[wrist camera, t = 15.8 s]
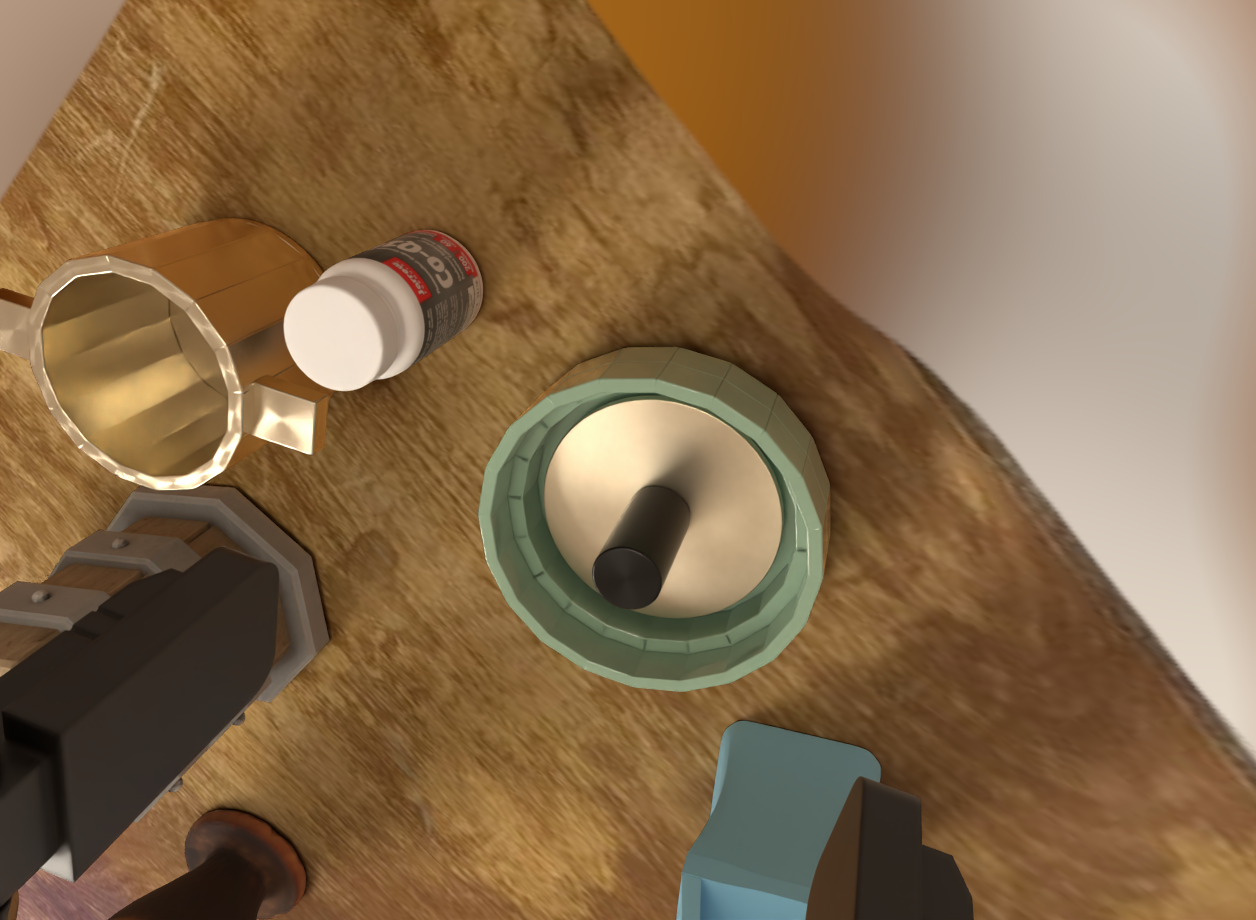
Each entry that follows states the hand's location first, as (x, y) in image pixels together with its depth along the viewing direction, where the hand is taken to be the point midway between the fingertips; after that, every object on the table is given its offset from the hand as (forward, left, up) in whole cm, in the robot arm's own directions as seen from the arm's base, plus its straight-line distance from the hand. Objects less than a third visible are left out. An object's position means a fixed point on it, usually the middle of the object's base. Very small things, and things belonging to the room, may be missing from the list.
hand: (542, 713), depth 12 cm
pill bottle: (+5, -14, -28) cm, 32 cm away
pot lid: (+12, -2, -27) cm, 30 cm away
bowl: (+12, -2, -28) cm, 31 cm away
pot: (+10, -23, -28) cm, 38 cm away
